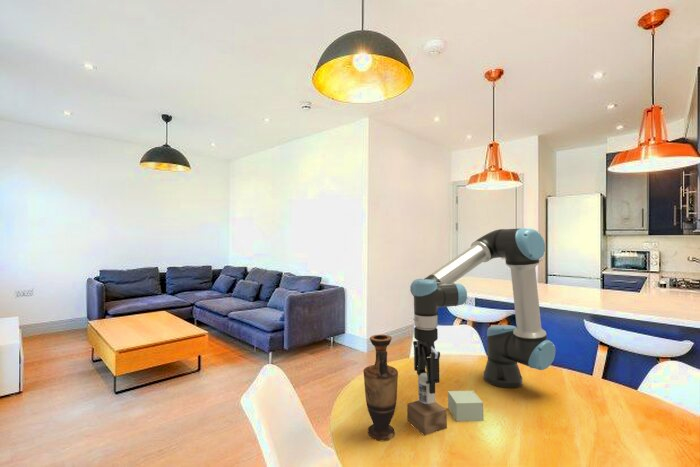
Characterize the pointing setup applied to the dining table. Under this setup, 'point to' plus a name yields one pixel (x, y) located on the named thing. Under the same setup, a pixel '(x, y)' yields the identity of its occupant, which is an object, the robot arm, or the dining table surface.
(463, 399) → the sage block
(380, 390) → the vase
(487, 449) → the dining table surface
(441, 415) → the walnut block
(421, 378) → the pill bottle
